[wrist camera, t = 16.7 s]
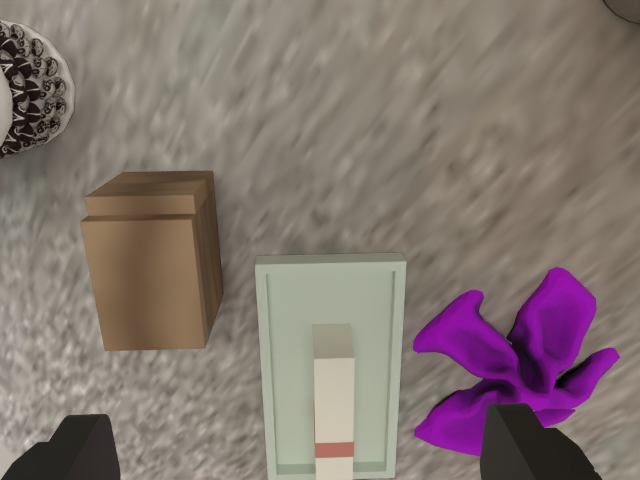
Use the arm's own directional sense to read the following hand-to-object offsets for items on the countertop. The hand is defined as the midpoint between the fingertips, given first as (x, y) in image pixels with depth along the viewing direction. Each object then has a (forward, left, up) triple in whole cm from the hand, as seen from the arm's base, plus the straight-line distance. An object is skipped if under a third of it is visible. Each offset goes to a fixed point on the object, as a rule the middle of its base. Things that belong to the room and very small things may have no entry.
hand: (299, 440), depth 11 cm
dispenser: (+10, +6, -28) cm, 30 cm away
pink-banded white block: (-2, +20, -28) cm, 34 cm away
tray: (-2, +18, -28) cm, 33 cm away
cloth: (-19, +18, -29) cm, 39 cm away
